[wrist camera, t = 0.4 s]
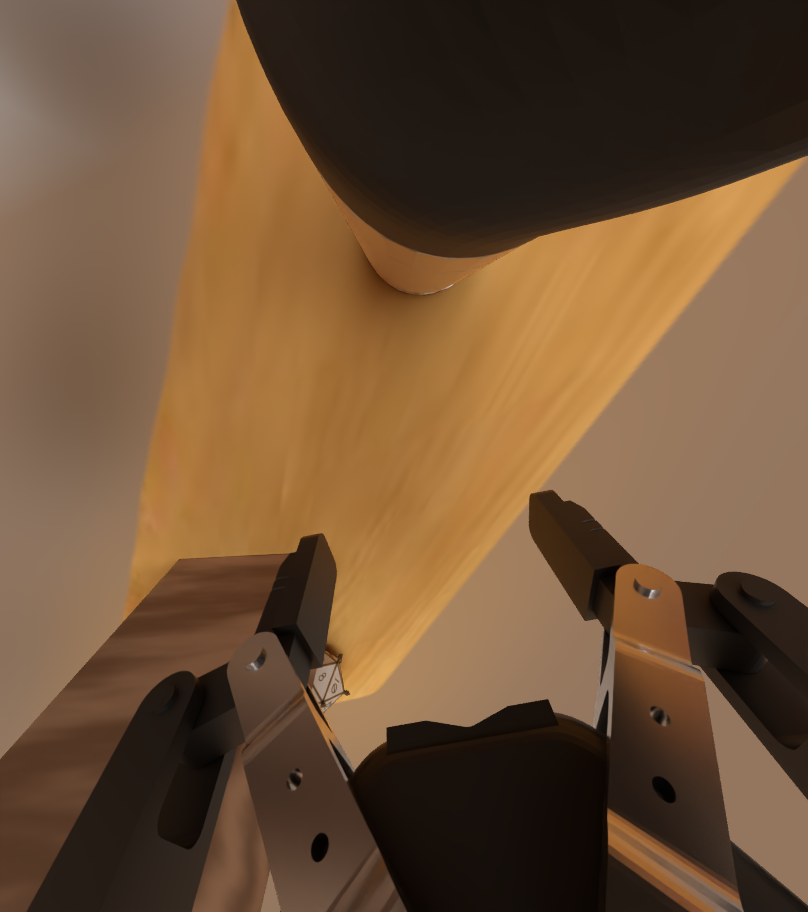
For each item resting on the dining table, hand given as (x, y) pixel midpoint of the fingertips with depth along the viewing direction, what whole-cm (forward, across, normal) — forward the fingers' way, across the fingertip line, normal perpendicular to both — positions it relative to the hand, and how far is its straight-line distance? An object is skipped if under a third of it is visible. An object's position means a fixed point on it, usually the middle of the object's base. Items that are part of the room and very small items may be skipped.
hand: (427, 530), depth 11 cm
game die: (+17, +18, +35) cm, 43 cm away
